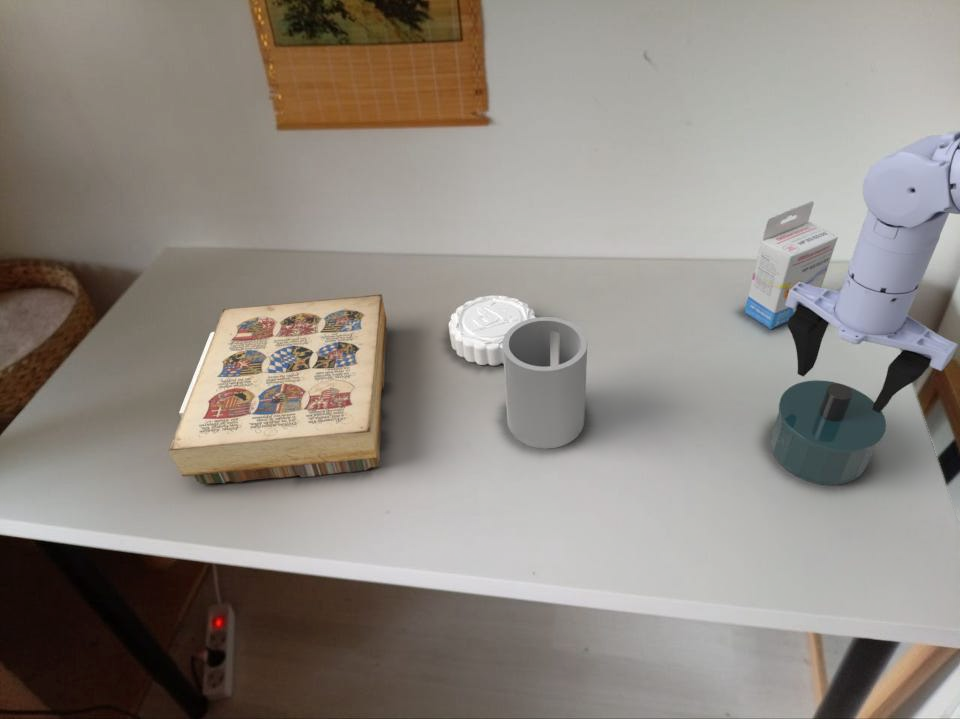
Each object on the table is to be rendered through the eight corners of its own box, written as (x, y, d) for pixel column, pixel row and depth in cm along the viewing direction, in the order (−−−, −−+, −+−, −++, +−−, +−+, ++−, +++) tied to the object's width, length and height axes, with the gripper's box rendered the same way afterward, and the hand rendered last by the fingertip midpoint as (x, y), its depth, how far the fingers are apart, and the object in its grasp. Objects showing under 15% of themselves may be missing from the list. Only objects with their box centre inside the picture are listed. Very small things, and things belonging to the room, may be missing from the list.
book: (220, 339, 99) (163, 491, 77) (205, 303, 95) (141, 453, 73) (389, 323, 99) (379, 470, 77) (382, 286, 95) (370, 432, 73)
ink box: (771, 331, 91) (796, 235, 81) (743, 312, 94) (764, 218, 85) (816, 310, 94) (846, 214, 84) (787, 292, 97) (813, 198, 87)
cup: (516, 454, 78) (511, 377, 70) (501, 400, 85) (495, 324, 77) (593, 440, 78) (597, 362, 71) (572, 388, 85) (574, 311, 77)
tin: (885, 473, 72) (902, 438, 69) (803, 494, 71) (816, 460, 67) (829, 411, 79) (842, 377, 76) (754, 429, 78) (763, 396, 74)
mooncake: (519, 304, 99) (518, 283, 97) (550, 353, 91) (550, 332, 88) (440, 324, 97) (437, 303, 95) (465, 376, 88) (462, 355, 86)
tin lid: (905, 444, 69) (920, 414, 66) (814, 467, 67) (825, 437, 65) (841, 379, 76) (852, 350, 74) (758, 398, 75) (766, 369, 72)
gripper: (782, 264, 62) (754, 374, 71) (955, 331, 54) (898, 446, 63) (820, 234, 66) (789, 342, 74) (988, 292, 57) (930, 406, 66)
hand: (841, 387), depth 69 cm, fingers open, 7 cm apart
